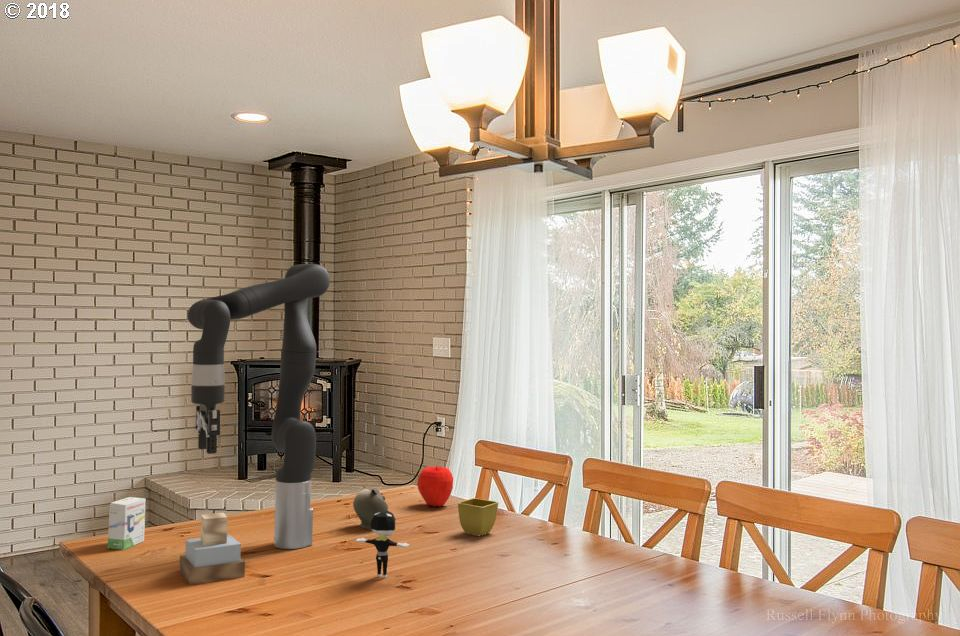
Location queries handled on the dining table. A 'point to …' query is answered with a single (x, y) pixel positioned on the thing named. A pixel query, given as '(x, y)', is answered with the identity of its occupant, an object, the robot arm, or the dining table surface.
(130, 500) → the ink box
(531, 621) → the dining table surface
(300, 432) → the robot arm
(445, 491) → the apple
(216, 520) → the maple block
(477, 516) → the flower pot
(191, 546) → the slate-blue block
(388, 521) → the toy
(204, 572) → the walnut plinth block
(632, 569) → the dining table surface
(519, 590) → the dining table surface
